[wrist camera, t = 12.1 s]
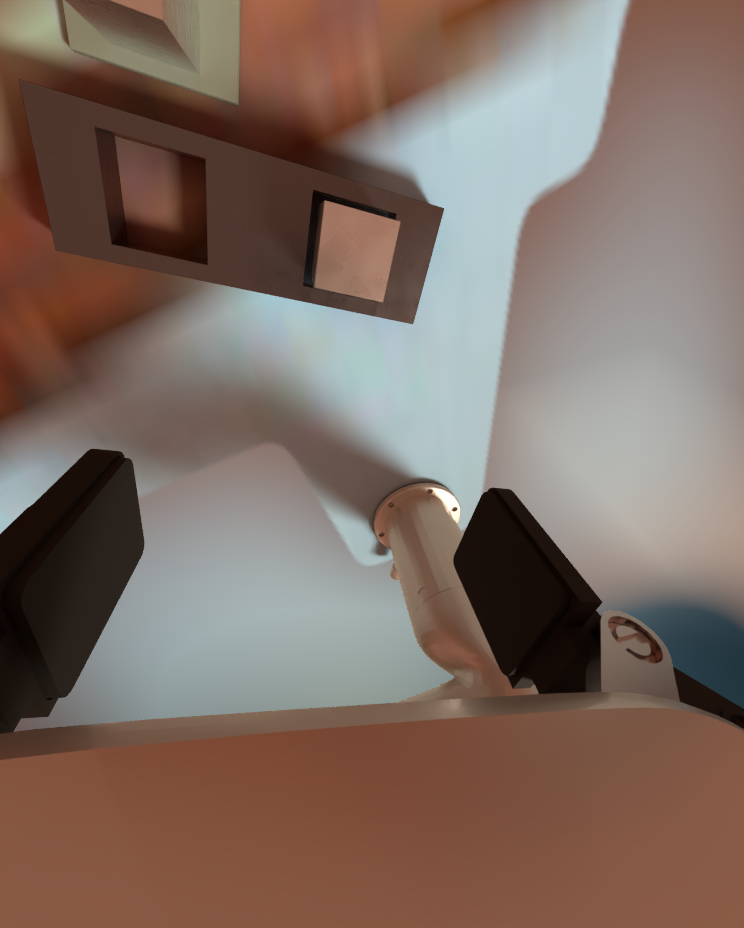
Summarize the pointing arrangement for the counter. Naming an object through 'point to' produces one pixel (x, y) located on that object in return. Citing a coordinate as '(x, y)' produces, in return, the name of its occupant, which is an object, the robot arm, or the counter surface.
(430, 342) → the counter surface
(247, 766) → the robot arm
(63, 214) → the board with square holes
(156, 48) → the pale pink rectangular block
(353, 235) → the brown wooden block
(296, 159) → the counter surface
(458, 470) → the counter surface
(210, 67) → the mat
